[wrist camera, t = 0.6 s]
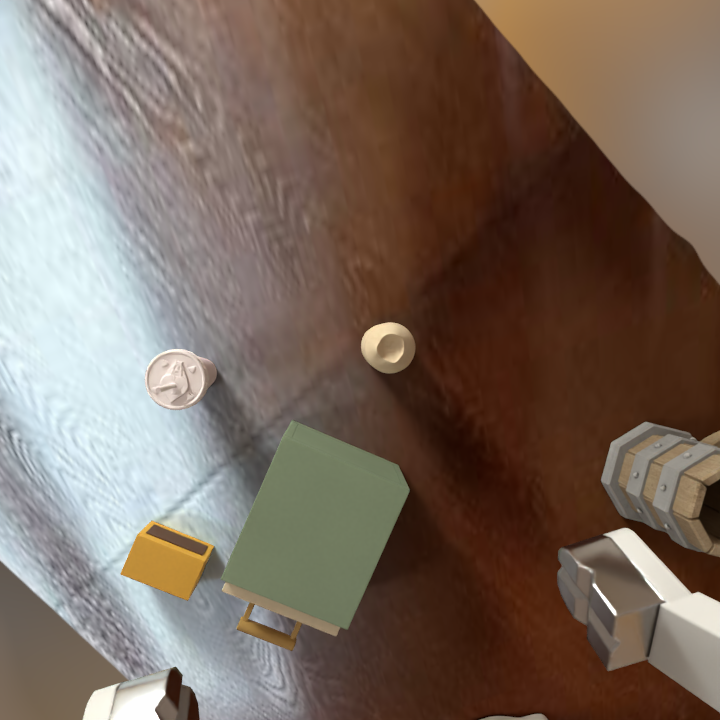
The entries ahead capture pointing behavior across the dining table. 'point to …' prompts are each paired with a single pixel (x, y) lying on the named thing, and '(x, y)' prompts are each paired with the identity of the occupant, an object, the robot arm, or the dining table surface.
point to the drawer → (272, 634)
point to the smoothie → (179, 379)
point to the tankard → (668, 483)
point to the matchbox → (167, 560)
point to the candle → (388, 347)
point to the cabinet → (318, 525)
